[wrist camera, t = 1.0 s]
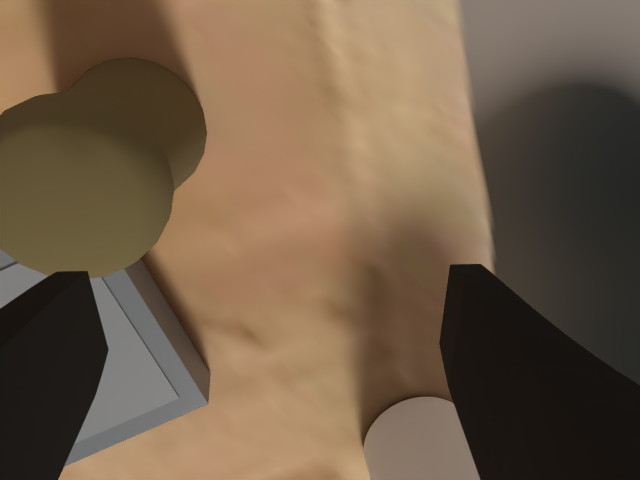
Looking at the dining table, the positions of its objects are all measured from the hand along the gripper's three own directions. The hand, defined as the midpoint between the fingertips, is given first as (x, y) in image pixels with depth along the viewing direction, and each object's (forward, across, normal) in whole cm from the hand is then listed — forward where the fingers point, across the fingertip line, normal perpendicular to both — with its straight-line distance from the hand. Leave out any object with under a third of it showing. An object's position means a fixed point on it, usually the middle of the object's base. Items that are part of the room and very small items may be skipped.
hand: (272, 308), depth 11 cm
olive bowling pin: (+15, +7, +1) cm, 16 cm away
